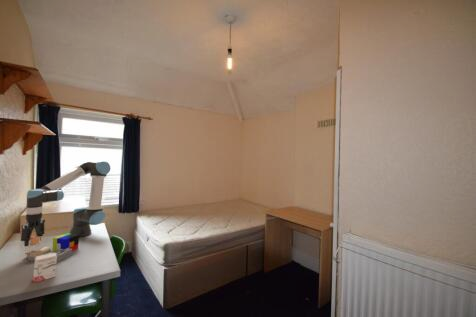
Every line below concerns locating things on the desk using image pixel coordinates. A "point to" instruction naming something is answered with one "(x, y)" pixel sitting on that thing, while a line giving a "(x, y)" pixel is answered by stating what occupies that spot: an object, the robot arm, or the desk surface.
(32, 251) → the tee
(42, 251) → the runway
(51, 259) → the ink box
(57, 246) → the puzzle toy
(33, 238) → the ball
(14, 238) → the desk surface
